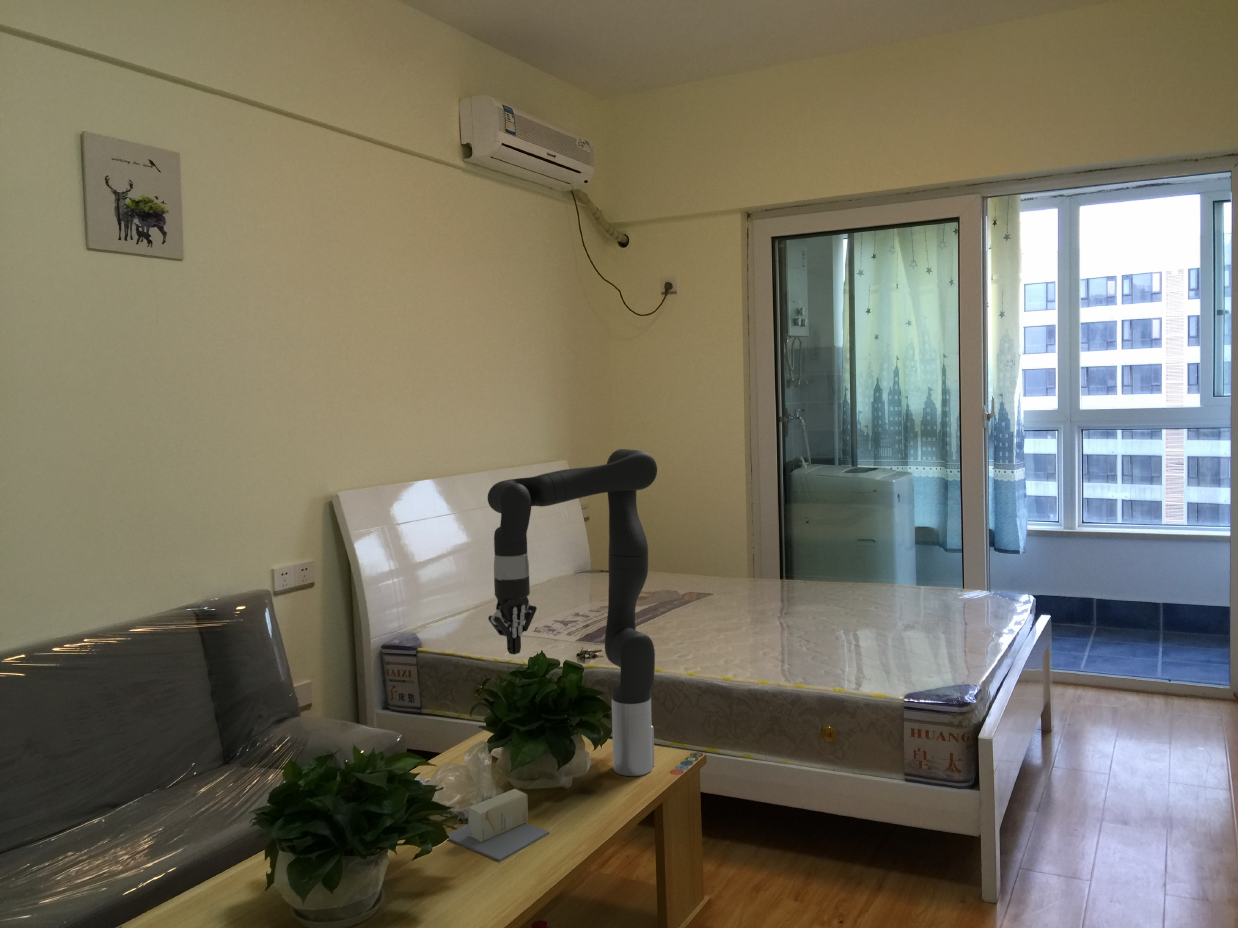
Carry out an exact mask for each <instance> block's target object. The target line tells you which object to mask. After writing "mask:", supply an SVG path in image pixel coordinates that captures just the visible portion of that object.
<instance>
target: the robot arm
mask: <svg viewBox="0 0 1238 928" xmlns="http://www.w3.org/2000/svg"><path fill="white" fill-rule="evenodd" d="M657 475H658V466H657V462H656V460H655V459H654V457H653V456H652V455H650V454H649V453H647V452H646V451H644V450H643V451H642V450H638V449H637V450H636V449H628V448H618V449H617V450H615V451H613V452H612V453H611V455H609V456H608V459H607V462H606V464H601V465H594V466H587V467H577V468H576V467H575V468H569V469H568V468H567V469H561V470H556V471H552V472H551V471H550V472H546V473H542V474H538V475H535V476H529V477H519V478H511V479H505V480H501V481H498V482H496V483H494V484H493V485H492V486H491V487H490V489H489V490H488V493H487V503H488V505H489V506H490V508H491V509H492V510H493V511H495V512H496V513H499V514H500V515H501V516H500V526H499V527H497V528H495V530H494V536H493V545H494V546H493V547H494V551H493V552H494V558H493V559H494V561H493V579H494V580H493V583H494V586H493V588H494V597H495V598H496V600H497V601H496V605H495V609H496V610H495V612H494V613H493V615H492V614H491V615H489V616H488V618H487V619H488V622H490V625H492V627H493V629H495V631H496V632H497V634H498V635H499V636H500V637H501V636H503V637H506V649H507V652H508V654H510V655H513V656H514V655H517V654H520V653H521V649H522V636H523V633H524V632H527V631H528V629H529V627H530V626H531V623H532V621H533V619H534V616H535V614H536V611H537V610H538V609H537V606H535V605H531V604H530V601H529V600H530V599H529V598H528V597H529V595H530V593H531V592H530V591H531V590H530V589H531V588H530V587H531V586H530V562H529V561H530V560H529V555H528V536H527V535H528V529H529V525H530V520H531V513H532V507H549V506H554V505H557V504H562V503H565V502H570V501H574V500H576V499H581V498H584V497H585V498H586V497H590V496H593V495H599V494H604V493H607V498H608V499H607V501H608V537H609V538H608V543H609V544H608V594H607V595H608V602H607V603H608V604H607V605H608V606H607V617H606V627H605V635H604V652H605V656H606V658H607V659H608V661H609V662H610V663H611V664H612V665H614V666H617V667H619V668H620V676H619V677H620V679H619V681H618V682H615V683H614V684H613V685H612V687H611V720H612V721H611V723H612V724H611V725H612V726H611V727H612V732H611V733H612V770H613V771H614V772H615V773H616V774H618V775H622V776H625V777H626V776H627V777H637V776H643V775H646V774H648V773H650V772H651V771H652V770H653V767H654V766H655V727H654V726H653V725H652V724H653V723H652V689H653V687H654V683H655V665H656V655H655V654H656V653H655V651H656V650H655V645H654V643H653V640H652V639H651V638H650V636H649V635H647V634H646V633H643V632H641V631H638V630H637V629H636V609H637V608H636V607H637V603H638V600H639V596H640V594H641V593H642V590H643V588H644V586H645V584H646V580H647V579H648V572H649V545H648V544H649V543H648V540H647V537H646V533H645V530H644V528H643V526H642V522H641V519H640V516H639V513H638V507H637V491H641V490H644V489H647V488H648V487H650V486H651V485H652V484H653V483H654V481H655V480H656V477H657Z"/></svg>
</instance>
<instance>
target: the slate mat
mask: <svg viewBox="0 0 1238 928" xmlns="http://www.w3.org/2000/svg"><path fill="white" fill-rule="evenodd" d="M447 834H448V835H449V840H448V841H449V842H452V843H455V844H457V845H460V846H463V847H465V848H466V849H469V850H472V851H474V852H476V853H478V854H481V855H484V856H486V857H488V858H491V859H493V860H495V861H498V862H502V861H503V860H505V859H507V858H508V857H511V856H512V855H514V854H517V853H518V852H519V851H521V850H523V849H525V848H526V847H528V846H530V845H532V844H534V843H535V842H537V841H539V840H541V839H543V838H544V837H546V836H548V835H550V831H548V830H546V829H544V828H541V827H538V826H535V825H532V824H530V823H528V822H526V823H524V824H522V825H519V826H517V827H515V828H513V829H510V830H508V831H506V832H504V833H501V834H499V835H497V836H494V837H492V838H490V839H487V840H485V841H483V842H479V841H477V840H476V839H474V838H472V837H470V836H469V825H468V823H467V824H465V825H463V826H461V827H459V828H458V829H456V830H454V831H452V832H449V833H447Z"/></svg>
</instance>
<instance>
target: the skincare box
mask: <svg viewBox="0 0 1238 928" xmlns="http://www.w3.org/2000/svg"><path fill="white" fill-rule="evenodd" d="M528 808H529V807H528V794H527V793H525V792H523V791H521V790H519V789H517V788H513V789H511V790H508V791H506V792H503V793H500V794H498V795H496V796H493V797H491V798H488V799H486V800H483V801H481V802H478V803H476V804H473V805H471V806H468V807H467V814H468V815H467V817H468V818H467V822H468V823H467V824H468V825H469V836H470V837H472V838H474V839H476V840H477V841H479V842H483V841H485V840H487V839H490V838H492V837H494V836H497V835H499V834H501V833H504V832H506V831H508V830H510V829H513V828H515V827H517V826H519V825H522V824H524V823H528V820H529V819H528V817H529V816H528V814H529V812H528V811H529V810H528Z"/></svg>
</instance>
